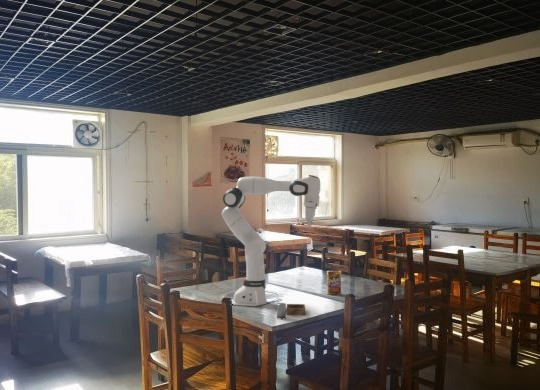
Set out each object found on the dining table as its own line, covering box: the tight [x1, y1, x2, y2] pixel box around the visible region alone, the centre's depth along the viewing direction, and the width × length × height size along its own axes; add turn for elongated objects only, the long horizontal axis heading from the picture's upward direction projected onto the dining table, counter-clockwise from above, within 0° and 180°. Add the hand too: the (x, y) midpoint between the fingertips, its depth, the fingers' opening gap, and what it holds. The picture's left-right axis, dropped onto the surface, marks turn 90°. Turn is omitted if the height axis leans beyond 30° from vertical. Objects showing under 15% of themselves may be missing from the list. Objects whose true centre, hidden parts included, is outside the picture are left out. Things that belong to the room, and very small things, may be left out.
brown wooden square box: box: [286, 303, 306, 316], centre depth 262 cm, size 10×10×4 cm
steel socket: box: [276, 302, 287, 320], centre depth 251 cm, size 5×5×8 cm
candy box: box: [326, 270, 342, 295], centre depth 308 cm, size 9×4×15 cm, turn 93°
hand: (309, 225), depth 279 cm, fingers open, 8 cm apart
